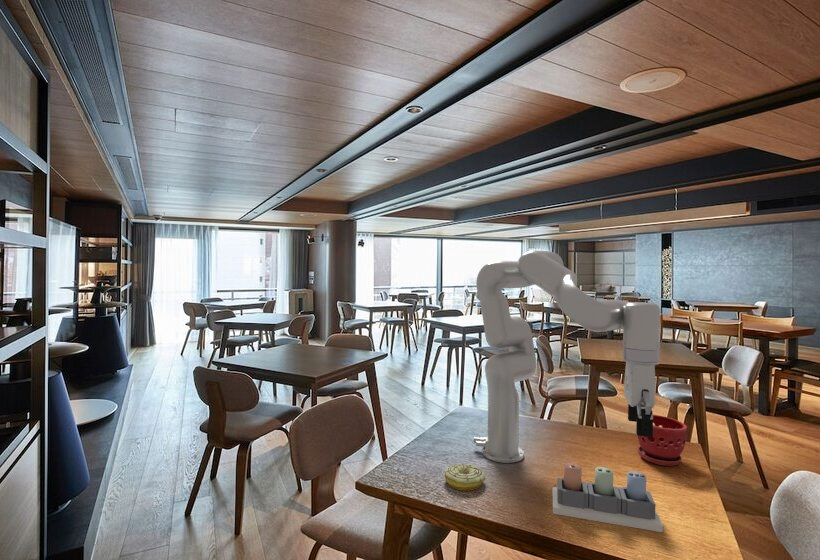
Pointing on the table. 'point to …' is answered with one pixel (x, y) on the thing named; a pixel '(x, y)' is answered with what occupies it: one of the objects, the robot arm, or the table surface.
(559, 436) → the table surface
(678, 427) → the plant pot
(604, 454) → the table surface
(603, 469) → the button two pip
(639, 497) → the button three pip
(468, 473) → the decorated donut
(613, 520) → the button board
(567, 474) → the button one pip
